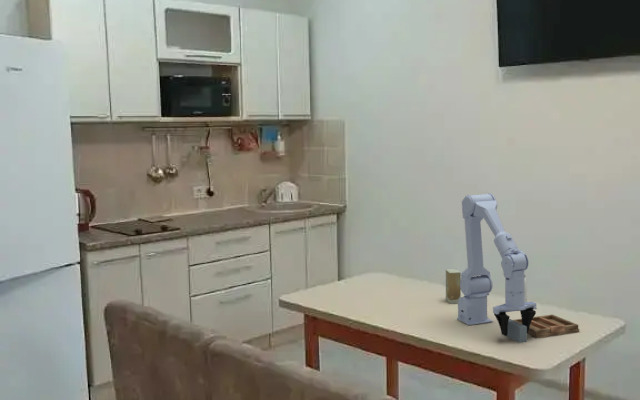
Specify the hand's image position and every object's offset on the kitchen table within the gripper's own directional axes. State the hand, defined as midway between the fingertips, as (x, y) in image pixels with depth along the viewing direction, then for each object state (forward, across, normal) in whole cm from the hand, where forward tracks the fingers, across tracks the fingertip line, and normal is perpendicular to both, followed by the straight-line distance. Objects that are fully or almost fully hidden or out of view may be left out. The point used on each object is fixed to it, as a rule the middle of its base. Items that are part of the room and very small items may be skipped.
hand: (514, 333), depth 207 cm
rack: (+2, +14, +4) cm, 15 cm away
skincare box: (+2, +4, +46) cm, 46 cm away
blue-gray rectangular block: (+2, 0, 0) cm, 2 cm away
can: (+2, +21, +29) cm, 36 cm away
